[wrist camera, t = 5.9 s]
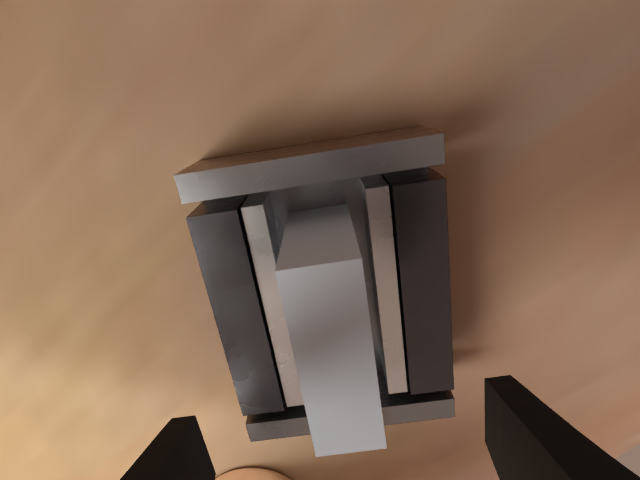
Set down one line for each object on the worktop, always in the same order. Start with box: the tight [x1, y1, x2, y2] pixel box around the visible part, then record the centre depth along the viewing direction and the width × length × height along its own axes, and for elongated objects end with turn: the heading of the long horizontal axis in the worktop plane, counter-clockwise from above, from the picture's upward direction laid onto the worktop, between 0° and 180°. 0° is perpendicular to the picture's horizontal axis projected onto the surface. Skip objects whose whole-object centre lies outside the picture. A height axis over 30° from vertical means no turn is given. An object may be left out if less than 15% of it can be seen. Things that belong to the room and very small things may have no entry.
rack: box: [174, 126, 455, 442], centre depth 16 cm, size 9×12×3 cm
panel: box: [275, 204, 387, 457], centre depth 14 cm, size 2×7×6 cm, turn 9°
